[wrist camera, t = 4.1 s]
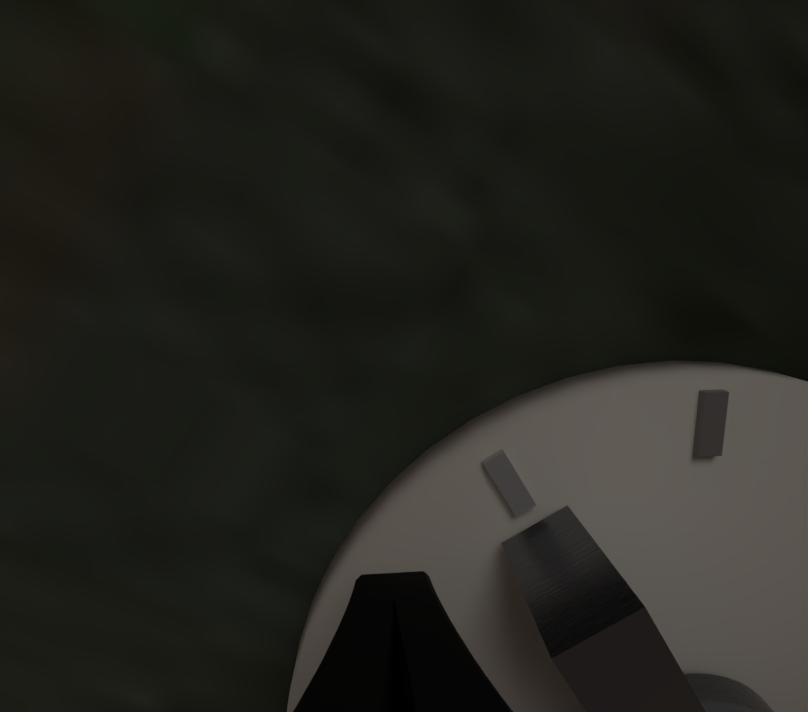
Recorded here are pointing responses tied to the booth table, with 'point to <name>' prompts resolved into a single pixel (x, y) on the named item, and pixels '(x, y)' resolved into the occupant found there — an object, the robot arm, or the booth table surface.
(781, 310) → the booth table surface
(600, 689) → the dial pointer
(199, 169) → the booth table surface
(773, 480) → the dial plate
